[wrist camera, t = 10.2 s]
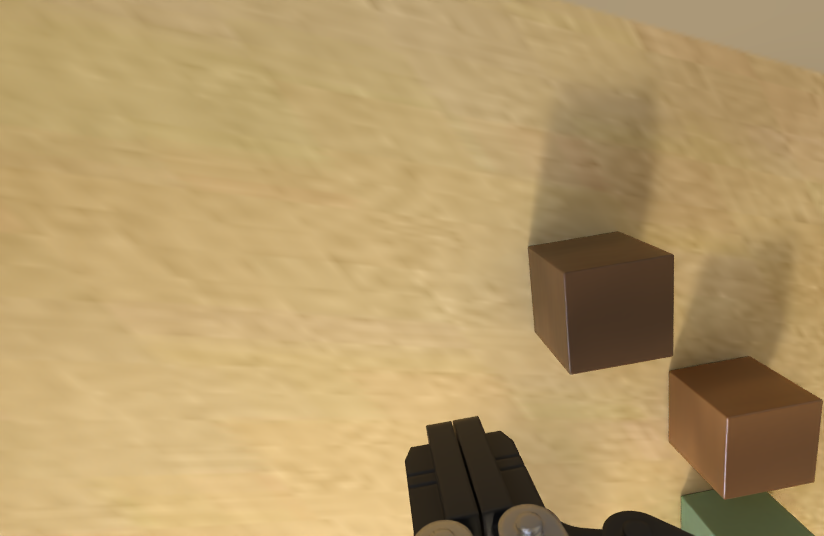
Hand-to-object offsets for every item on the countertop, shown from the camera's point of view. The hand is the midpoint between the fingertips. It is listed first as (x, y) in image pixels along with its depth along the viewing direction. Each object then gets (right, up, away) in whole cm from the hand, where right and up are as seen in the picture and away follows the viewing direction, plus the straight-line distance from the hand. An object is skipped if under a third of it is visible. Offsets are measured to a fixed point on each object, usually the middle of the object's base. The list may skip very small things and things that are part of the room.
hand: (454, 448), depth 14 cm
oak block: (+15, -2, +13) cm, 20 cm away
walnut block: (+7, +4, +11) cm, 13 cm away
